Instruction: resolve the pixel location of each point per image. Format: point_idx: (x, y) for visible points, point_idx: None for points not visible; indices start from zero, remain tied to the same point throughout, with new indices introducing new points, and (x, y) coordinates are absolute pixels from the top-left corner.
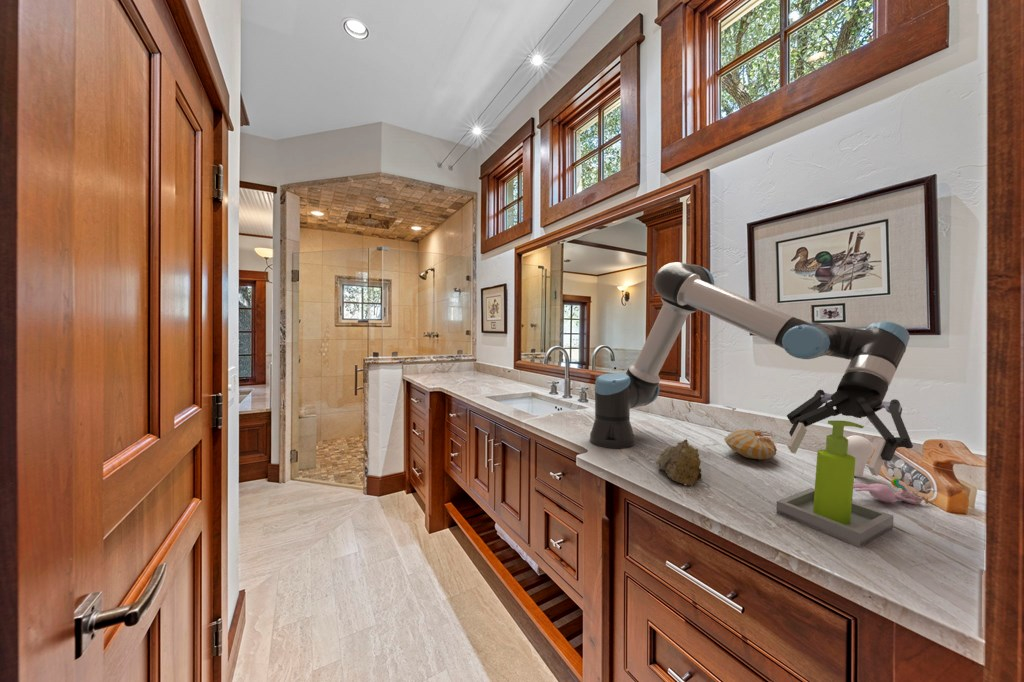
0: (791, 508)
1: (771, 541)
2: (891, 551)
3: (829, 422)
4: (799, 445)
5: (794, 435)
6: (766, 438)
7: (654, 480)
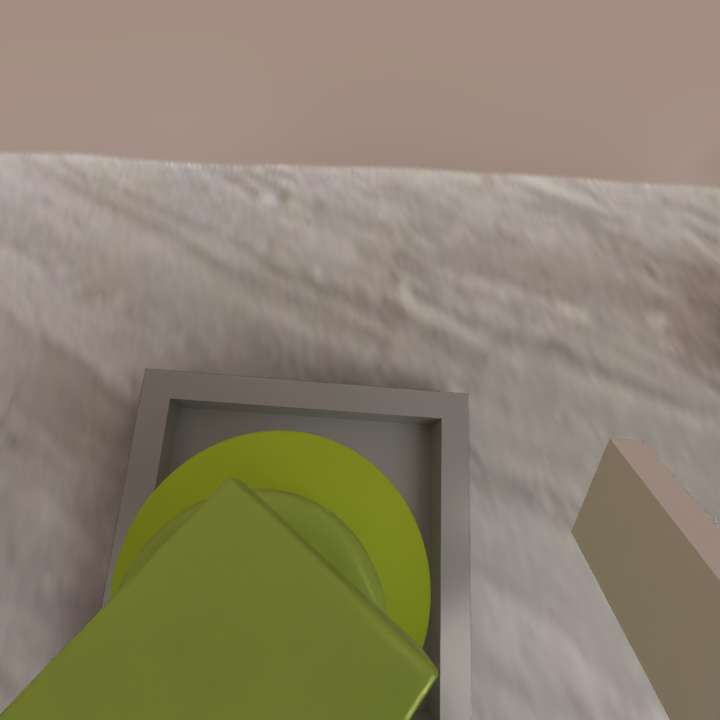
0: (403, 389)
1: (354, 185)
2: (77, 456)
3: (377, 612)
4: (616, 616)
5: (714, 548)
6: None
7: None
